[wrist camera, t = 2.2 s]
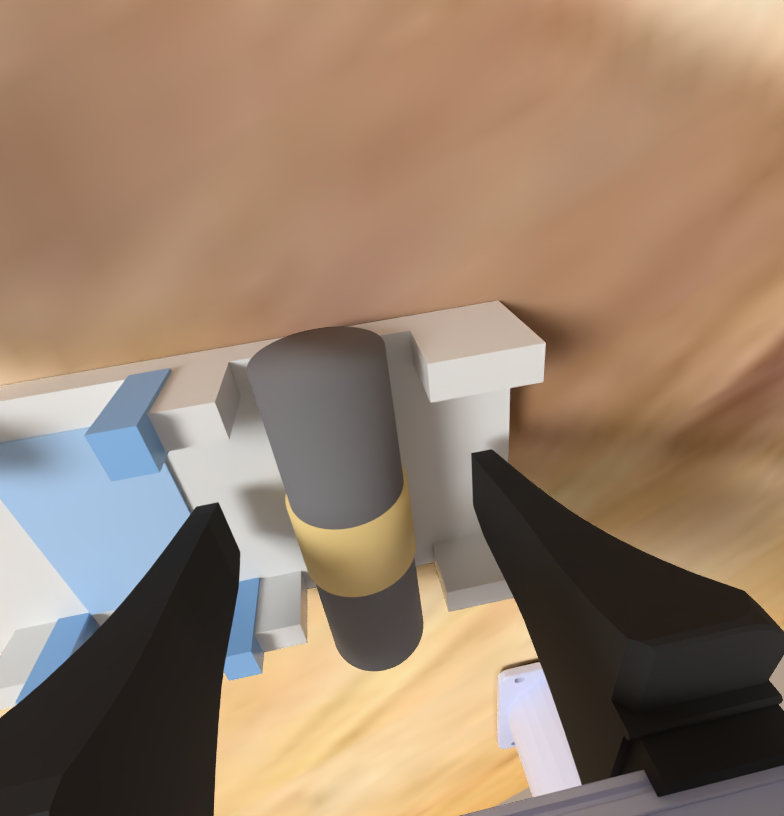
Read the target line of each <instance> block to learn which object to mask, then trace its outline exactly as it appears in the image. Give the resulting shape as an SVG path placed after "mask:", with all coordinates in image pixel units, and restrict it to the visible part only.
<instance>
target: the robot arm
mask: <svg viewBox="0 0 784 816" xmlns="http://www.w3.org/2000/svg"><path fill="white" fill-rule="evenodd" d="M471 463H472V494H473V507H474V510H475V513H476V516H477V519H478V522H479V524H480V527H481V530H482V533H483V536H484V538H485V540H486V542H487V544H488V546H489V548H490V550H491V552H492V554H493V556H494V558H495V561H496V563H497V565H498V567H499V569H500V571H501V573H502V575H503V577H504V579H505V581H506V583H507V585H508V587H509V589H510V591H511V593H512V595H513V597H514V599H515V601H516V603H517V605H518V607H519V610H520V612H521V614H522V616H523V619H524V621H525V624H526V627H527V629H528V632H529V634H530V637H531V640H532V642H533V645H534V648H535V650H536V653H537V656H538V658H539V661H540V662H537V663H533V664H528V665H524V666H520V667H515V668H511V669H507V670H504V671H502V672H501V673H500V674H499V675H498V690H497V742H498V745H499V748H501V749H508V748H512V747H516V748H517V751H518V754H519V757H520V760H521V763H522V766H523V769H524V772H525V775H526V778H527V781H528V784H529V787H530V790H531V793H532V796H533V797H532V798H528V799H525V800H521V801H516V802H512V803H509V804H504V805H501V806H496V807H492V808H488V809H484V810H480V811H476V812H472V813H468V814H464V815H460V816H784V711H783V709H782V708H781V707H780V706H779V704H780V703H781V702H782V701H783V699H782V696H781V694H780V693H779V692H778V691H777V689H776V688H775V687H774V686H773V685H772V683H771V682H770V681H769V678H770V676H771V675H772V673H773V672H774V670H775V668H776V667H777V665H778V663H779V662H780V660H781V658H782V657H783V655H784V631H783V630H782V629H781V628H780V627H779V626H778V625H777V624H776V622H775V621H774V620H773V619H772V618H771V617H770V616H769V615H768V614H767V613H766V612H765V610H764V609H763V608H762V607H761V606H760V605H759V604H758V603H757V602H756V601H754V600H753V599H752V598H751V597H750V596H749V595H748V594H747V593H746V592H745V591H743V590H740V589H737V588H734V587H732V586H729V585H726V584H723V583H720V582H717V581H714V580H712V579H709V578H706V577H703V576H700V575H697V574H695V573H692V572H690V571H687V570H685V569H682V568H680V567H677V566H675V565H673V564H670V563H668V562H665V561H663V560H661V559H659V558H656V557H654V556H652V555H650V554H647V553H645V552H643V551H641V550H639V549H637V548H635V547H633V546H631V545H629V544H627V543H625V542H623V541H621V540H619V539H617V538H615V537H613V536H611V535H610V534H608V533H606V532H604V531H603V530H601V529H599V528H597V527H596V526H594V525H592V524H591V523H589V522H587V521H585V520H584V519H582V518H581V517H579V516H578V515H576V514H574V513H573V512H571V511H570V510H569V509H567V508H566V507H564V506H563V505H561V504H560V503H558V502H557V501H556V500H554V499H553V498H552V497H550V496H549V495H547V494H546V493H545V492H544V491H542V490H541V489H540V488H538V487H537V486H536V485H534V484H533V483H532V482H531V481H529V480H528V479H527V478H526V477H524V476H523V475H522V474H521V473H520V472H518V471H517V470H516V469H515V468H514V467H512V466H511V465H510V464H509V463H508V462H507V461H506V460H504V459H503V458H502V457H501V456H500V455H499V454H497V453H496V452H495V451H494V450H492V449H490V450H485V451H480V452H474V453H471ZM239 576H240V550H239V548H238V545H237V543H236V541H235V538H234V536H233V534H232V532H231V529H230V527H229V525H228V523H227V520H226V518H225V516H224V513H223V511H222V509H221V507H220V504H219V502H217V503H212V504H207V505H201V506H196V508H195V509H194V510H193V512H192V513H191V514H190V516H189V517H188V518H187V520H186V521H185V522H184V524H183V525H182V526H181V528H180V529H179V531H178V532H177V533H176V535H175V536H174V537H173V539H172V540H171V541H170V543H169V544H168V546H167V547H166V548H165V550H164V551H163V552H162V554H161V555H160V556H159V558H158V559H157V560H156V561H155V563H154V564H153V565H152V567H151V568H150V569H149V571H148V572H147V573H146V574H145V576H144V577H143V578H142V579H141V580H140V582H139V583H138V584H137V585H136V587H135V588H134V589H133V590H132V591H131V593H130V594H129V595H128V596H127V597H126V599H125V600H124V601H123V602H122V603H121V604H120V606H119V607H118V608H117V609H116V610H115V611H114V612H113V613H112V615H111V616H110V617H109V618H108V619H107V620H106V621H105V622H104V623H103V624H102V625H101V626H100V627H99V628H98V629H97V630H96V632H95V633H94V634H93V635H92V636H91V637H90V638H89V639H88V640H87V641H86V642H85V643H84V644H83V645H82V646H81V647H80V648H79V649H78V650H76V651H75V652H74V653H73V654H72V655H71V656H70V657H69V658H68V659H67V660H66V661H65V662H64V663H63V664H62V665H61V666H59V667H58V668H57V669H56V670H55V671H54V672H53V673H52V674H51V675H50V676H49V677H48V678H47V679H46V680H44V681H43V682H42V683H41V684H40V685H39V686H38V687H37V688H35V689H34V690H33V691H32V692H31V693H30V694H28V695H27V696H26V697H25V698H24V699H23V700H21V701H20V702H19V703H18V704H17V705H15V706H14V707H13V708H12V709H11V710H9V711H8V712H7V713H6V714H5V715H3V716H2V717H1V718H0V816H214V792H215V767H216V752H217V736H218V721H219V709H220V698H221V686H222V679H223V672H224V666H225V660H226V655H227V649H228V644H229V639H230V633H231V628H232V623H233V617H234V612H235V606H236V600H237V595H238V589H239Z"/></svg>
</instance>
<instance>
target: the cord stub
mask: <svg viewBox="0 0 784 816" xmlns="http://www.w3.org/2000/svg"><path fill="white" fill-rule="evenodd" d="M246 370H247V375H248V378H249V381H250V384H251V387H252V390H253V393H254V396H255V399H256V403H257V406H258V409H259V412H260V415H261V418H262V421H263V424H264V427H265V430H266V433H267V436H268V439H269V442H270V445H271V448H272V452H273V455H274V458H275V461H276V464H277V467H278V470H279V473H280V476H281V479H282V482H283V485H284V488H285V491H286V496H285V503H286V508H287V511H288V514H289V517H290V520H291V523H292V526H293V529H294V532H295V535H296V538H297V541H298V544H299V547H300V550H301V553H302V556H303V559H304V562H305V565H306V568H307V571H308V573H309V575H310V577H311V578H312V580H313V581H314V582H315V583H316V586H317V589H318V592H319V595H320V599H321V602H322V605H323V608H324V611H325V614H326V617H327V620H328V623H329V626H330V629H331V632H332V635H333V638H334V641H335V644H336V647H337V649H338V651H339V653H340V655H341V656H342V657H343V658H344V659H345V660H346V661H347V662H348V663H349V664H351V665H352V666H354V667H356V668H359V669H362V670H366V671H382V670H387V669H390V668H393V667H395V666H397V665H399V664H400V663H402V662H403V661H405V660H406V659H407V658H408V657H409V656H410V655H411V654H412V653H413V652H414V650H415V649H416V647H417V646H418V644H419V642H420V639H421V636H422V633H423V616H422V609H421V602H420V594H419V587H418V580H417V573H416V565H415V558H414V556H415V551H416V540H415V532H414V525H413V517H412V510H411V502H410V494H409V487H408V479H407V474H406V471H405V469H404V467H403V466H402V464H401V457H400V450H399V442H398V435H397V428H396V421H395V413H394V406H393V399H392V392H391V385H390V377H389V370H388V363H387V356H386V348H385V342H384V340H383V339H382V338H381V336H379V335H378V334H376V333H374V332H372V331H370V330H367V329H362V328H357V327H325V328H318V329H312V330H307V331H303V332H299V333H296V334H292V335H289V336H287V337H284V338H281V339H279V340H277V341H275V342H273V343H271V344H269V345H267V346H265V347H264V348H262V349H261V350H260V351H258V352H257V353H256V354H255V355H254V356H253V357H252V358H251V359H250V361H249V362H248V365H247V369H246Z"/></svg>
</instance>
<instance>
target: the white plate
mask: <svg viewBox="0 0 784 816" xmlns="http://www.w3.org/2000/svg"><path fill="white" fill-rule="evenodd" d="M347 327H357V328H362V329H367V330H370V331H372V332H374V333H376V334H378V335H379V336H381V338H382V339H383V340H384V342H385V348H386V356H387V363H388V370H389V377H390V385H391V392H392V399H393V406H394V413H395V421H396V428H397V435H398V442H399V450H400V457H401V464H402V466H403V467H404V469H405V471H406V474H407V479H408V487H409V494H410V502H411V510H412V517H413V525H414V532H415V540H416V551H415V556H414V558H415V565H416V566H420V565H424V564H429V563H435V567H436V570H437V574H438V577H439V580H440V584H441V587H442V591H443V594H444V598H445V601H446V605H447V608H448V611H449V612H450V611H455V610H460V609H464V608H469V607H473V606H478V605H483V604H487V603H492V602H496V601H501V600H505V599H510V598H514V597H513V595H512V593H511V591H510V589H509V587H508V585H507V583H506V581H505V579H504V577H503V575H502V573H501V571H500V569H499V567H498V565H497V563H496V561H495V558H494V556H493V554H492V552H491V550H490V548H489V546H488V544H487V542H486V540H485V538H484V536H483V533H482V530H481V527H480V524H479V522H478V519H477V516H476V513H475V510H474V507H473V494H472V463H471V453H474V452H480V451H485V450H490V449H492V450H494V451H495V452H496V453H497V454H499V455H500V456H501V457H502V458H503V459H504V460H506V461H507V462H508V459H509V417H510V388H513V387H519V386H524V385H530V384H535V383H540V382H543V378H544V363H545V348H546V343H545V342H544V341H543V340H542V339H541V338H540V337H539V336H538V335H537V334H535V333H534V332H533V331H532V330H531V329H530V328H529V327H528V326H526V325H525V324H524V323H523V322H522V321H521V320H520V319H519V318H517V317H516V316H515V315H514V314H513V313H512V312H511V311H510V310H508V309H507V308H506V307H505V306H504V305H503V304H502V303H501V302H499V301H493V302H487V303H481V304H475V305H469V306H464V307H458V308H452V309H446V310H440V311H434V312H429V313H423V314H417V315H411V316H405V317H399V318H394V319H388V320H382V321H376V322H370V323H364V324H358V325H353V326H347ZM282 338H284V337H282ZM279 339H281V338H277V339H271V340H265V341H259V342H253V343H247V344H242V345H236V346H230V347H224V348H218V349H212V350H206V351H201V352H195V353H189V354H183V355H177V356H171V357H166V358H160V359H154V360H148V361H142V362H136V363H130V364H125V365H119V366H113V367H107V368H101V369H95V370H90V371H84V372H78V373H72V374H66V375H60V376H55V377H49V378H43V379H37V380H31V381H25V382H19V383H14V384H8V385H2V386H0V654H1V653H2V654H1V656H0V710H1V709H6V708H10V707H14V706H15V705H17V704H18V703H19V702H20V701H21V700H23V699H24V698H25V697H26V696H27V695H28V694H30V693H31V692H32V691H33V690H34V689H35V688H37V687H38V686H39V685H40V684H41V683H42V682H43V681H44V680H46V679H47V678H48V677H49V676H50V675H51V674H52V673H53V672H54V671H55V670H56V669H57V668H58V667H59V666H61V665H62V664H63V663H64V662H65V661H66V660H67V659H68V658H69V657H70V656H71V655H72V654H73V653H74V652H75V651H76V650H78V649H79V648H80V647H81V646H82V645H83V644H84V643H85V642H86V641H87V640H88V639H89V638H90V637H91V636H92V635H93V634H94V633H95V632H96V630H97V629H98V628H99V627H100V626H101V625H102V624H103V623H104V622H105V621H106V620H107V619H108V618H109V617H110V616H111V615H112V613H113V612H114V611H115V610H116V609H117V608H118V607H119V606H120V604H121V603H122V602H123V601H124V600H125V599H126V597H127V596H128V595H129V594H130V593H131V591H132V590H133V589H134V588H135V587H136V585H137V584H138V583H139V582H140V580H141V579H142V578H143V577H144V576H145V574H146V573H147V572H148V571H149V569H150V568H151V567H152V565H153V564H154V563H155V561H156V560H157V559H158V558H159V556H160V555H161V554H162V552H163V551H164V550H165V548H166V547H167V546H168V544H169V543H170V541H171V540H172V539H173V537H174V536H175V535H176V533H177V532H178V531H179V529H180V528H181V526H182V525H183V524H184V522H185V521H186V520H187V518H188V517H189V516H190V514H191V513H192V512H193V510H194V509H195V508H196V506H201V505H207V504H212V503H217V502H219V504H220V507H221V509H222V511H223V513H224V516H225V518H226V520H227V523H228V525H229V527H230V529H231V532H232V534H233V536H234V538H235V541H236V543H237V545H238V548H239V550H240V576H239V589H238V595H237V600H236V606H235V612H234V617H233V623H232V628H231V633H230V639H229V644H228V649H227V655H226V660H225V666H224V673H225V674H226V676H227V678H228V680H229V681H230V680H234V679H239V678H243V677H248V676H252V675H257V674H261V673H262V670H263V658H264V652H267V651H272V650H276V649H281V648H285V647H290V646H295V645H299V644H304V643H307V589H310V588H315V587H317V586H316V583H315V582H314V581H313V580H312V578H311V577H310V575H309V573H308V571H307V568H306V565H305V562H304V559H303V556H302V553H301V550H300V547H299V544H298V541H297V538H296V535H295V532H294V529H293V526H292V523H291V520H290V517H289V514H288V511H287V508H286V503H285V496H286V491H285V488H284V485H283V482H282V479H281V476H280V473H279V470H278V467H277V464H276V461H275V458H274V455H273V452H272V448H271V445H270V442H269V439H268V436H267V433H266V430H265V427H264V424H263V421H262V418H261V415H260V412H259V409H258V406H257V403H256V399H255V396H254V393H253V390H252V387H251V384H250V381H249V378H248V375H247V370H246V369H247V365H248V362H249V361H250V359H251V358H252V357H253V356H254V355H255V354H256V353H257V352H258V351H260V350H261V349H262V348H264V347H265V346H267V345H269V344H271V343H273V342H275V341H277V340H279Z"/></svg>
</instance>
